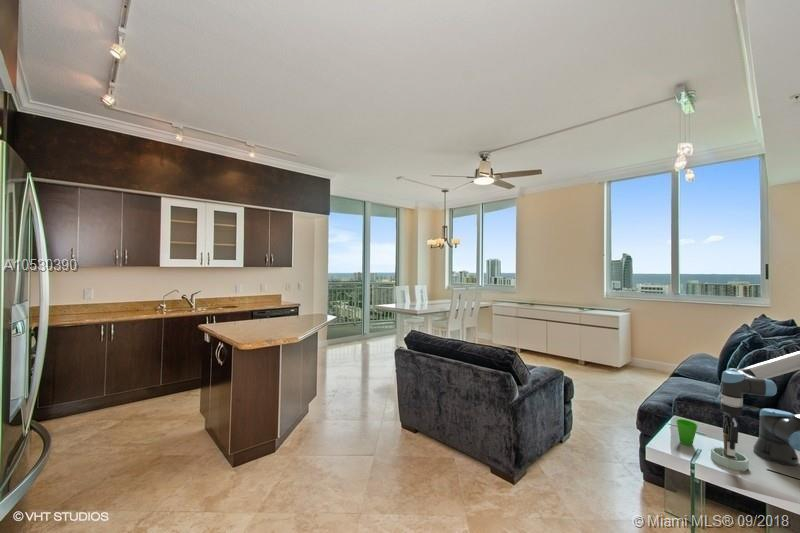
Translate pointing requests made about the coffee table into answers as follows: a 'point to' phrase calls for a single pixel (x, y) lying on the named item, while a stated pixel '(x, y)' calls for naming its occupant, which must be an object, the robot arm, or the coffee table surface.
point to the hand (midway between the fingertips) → (729, 452)
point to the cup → (686, 431)
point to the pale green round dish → (729, 459)
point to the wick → (726, 445)
